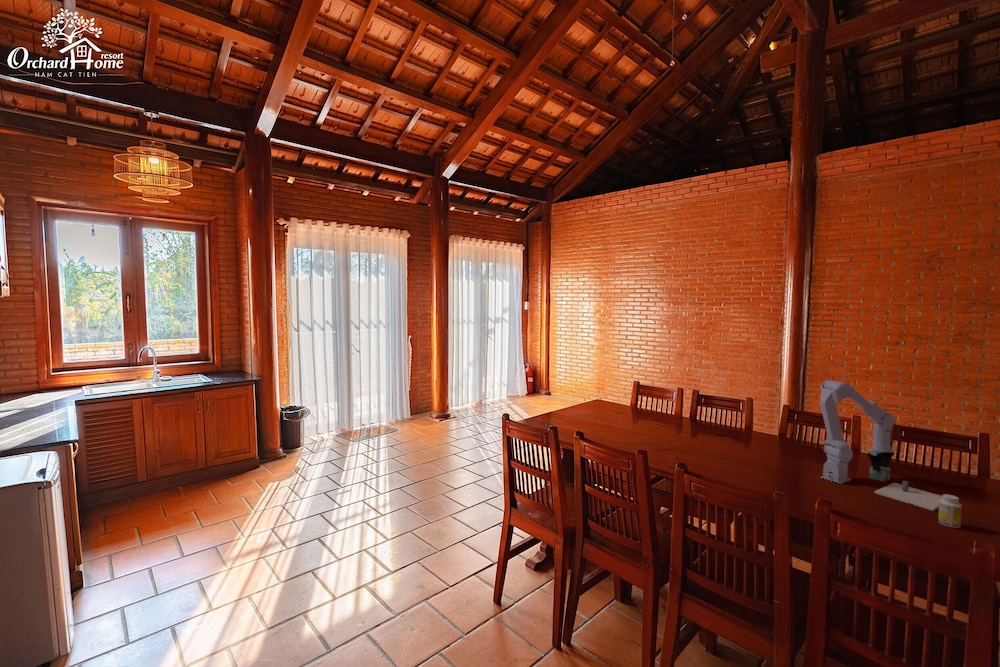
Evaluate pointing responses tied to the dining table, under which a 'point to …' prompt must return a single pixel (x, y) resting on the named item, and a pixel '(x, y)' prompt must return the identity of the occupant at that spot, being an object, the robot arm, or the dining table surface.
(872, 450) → the robot arm
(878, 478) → the collar
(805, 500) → the dining table surface
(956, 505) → the supplement bottle
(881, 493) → the pin plate
